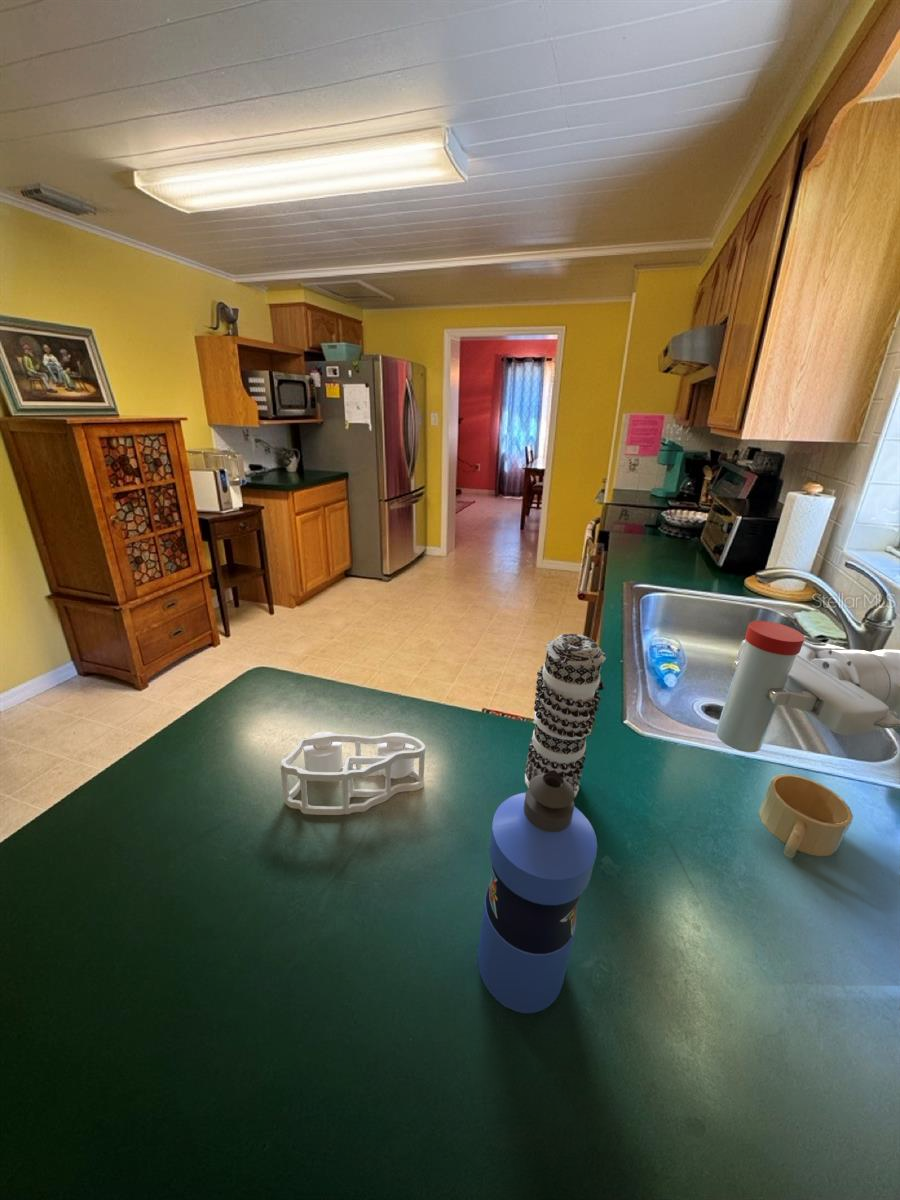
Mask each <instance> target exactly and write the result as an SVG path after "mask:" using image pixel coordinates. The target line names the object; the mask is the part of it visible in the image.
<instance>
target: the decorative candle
mask: <svg viewBox="0 0 900 1200" xmlns="http://www.w3.org/2000/svg"><path fill="white" fill-rule="evenodd" d="M545 651H546V654H545V661H544V663H543V665H541V666H540V670H538V671H537V672H536V675H537V679H536V686H535V690H536V692H535V694H534V695H535V699H534V706H533V711H534V712H533V721H534V723H535V725H534V729H533V731H532V737H531V738H530V739H529V746H528V753H527V757H526V764H525V771H524V772H525V773H524V783H525V785H526V787H527V789H528V788H529V783H530V781H531V779H532V778H533V777H535V776H537V775H540V774H544V773H549V772H552V773H556V774H558V775H560V776H561V777H562V778H563V779H565V780H566V781H567V782H568V783H569V784H570V785H571V786H572V788H573V790H574V795H575V796H574V799H575V798H576V797H577V795H578V792H579V790H580V787H579V786H581V782H580V780H581V779H582V778H583V774H582V772H583V769H584V767H585V765H584V762H585V760H586V759H587V757H586V754H587V751H586V747H587V741H586V740H587V736H589V735H590V733H591V731H592V729H593V723H594V722H595V721H596V718H595V714H596V712H597V711H599V706H598V705H599V702H600V701H601V700H602V698H601V696H600V692H599V691H602V690H604V688H605V685H604V682H603V680H602V679H601V677H602V676H601V674H600V673H601V669H602V664H604V663H605V660H606V659H607V656H606V653H605V651H604V650H603V649H602V648H601V647H599V644H598V643H597V642H596V641H595V640H594V639H592V638H590V637H588V636H586V635H583V634H577V633H563V634H561V635H558V636H557V637H556V638H555V639H552V640H549V642H547V644H546V645H545Z"/></svg>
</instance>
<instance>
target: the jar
mask: <svg viewBox="0 0 900 1200" xmlns="http://www.w3.org/2000/svg"><path fill="white" fill-rule="evenodd" d="M744 635H745V636H744V639H746V641H745V644H744V647H743V650H742V653H741V656H740V659H739V662H738V665H737V668H736V671H735V672H734V674H733V676H732V680H731V683H730V686H729V689H728V692H727V695H726V698H725V701H724V705H723V707H722V710H721V714H720V717H719V719H718V723H717V726H716V728H715V736H717V738H718V739H719V740H720V742H722V743H724V744H725V745H726V746H728V747H730V748H732V749H734V750H737V751H740V752H744V753H756V752H758V751H760V750H761V749H762V746H763V744H764V741H765V738H766V736H767V733H768V731H769V728H770V725H771V724H772V720H773V718H774V715H775V712H776V710H777V708H778V705H774V704H773V703H772V702H771V701H770V700H769V699H768V698H767V695H768V691H769V690H770V689H771V688H783V689H784V687H785V684H786V681H787V679H788V676H789V673H790V671H791V668H792V666H793V663H794V660H795V658H796V655H797V654H798V653H799V652H800V650H801V647H802V645H803V642H804V640H805V637H804V636H805V635H804V634H803V633H802V632H800V631H799V630H797V629H795V628H793V627H790V626H788V625H784V624H781V623H777V622H772V621H768V620H753V621H751V622H749V623H748V626H747V629H746V633H745V634H744Z"/></svg>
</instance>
